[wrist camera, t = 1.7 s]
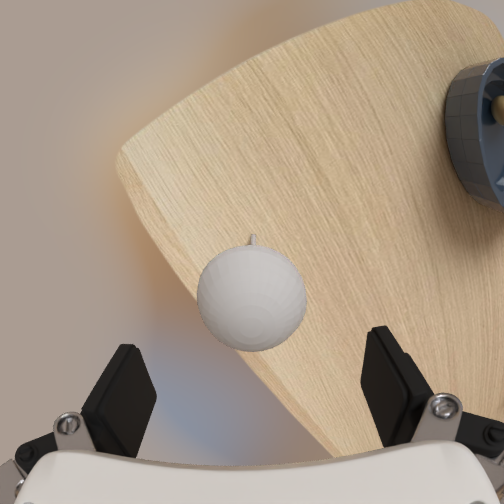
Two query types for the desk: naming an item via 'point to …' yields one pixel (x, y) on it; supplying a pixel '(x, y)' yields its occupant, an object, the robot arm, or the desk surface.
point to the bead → (498, 109)
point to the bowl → (477, 131)
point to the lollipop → (251, 297)
